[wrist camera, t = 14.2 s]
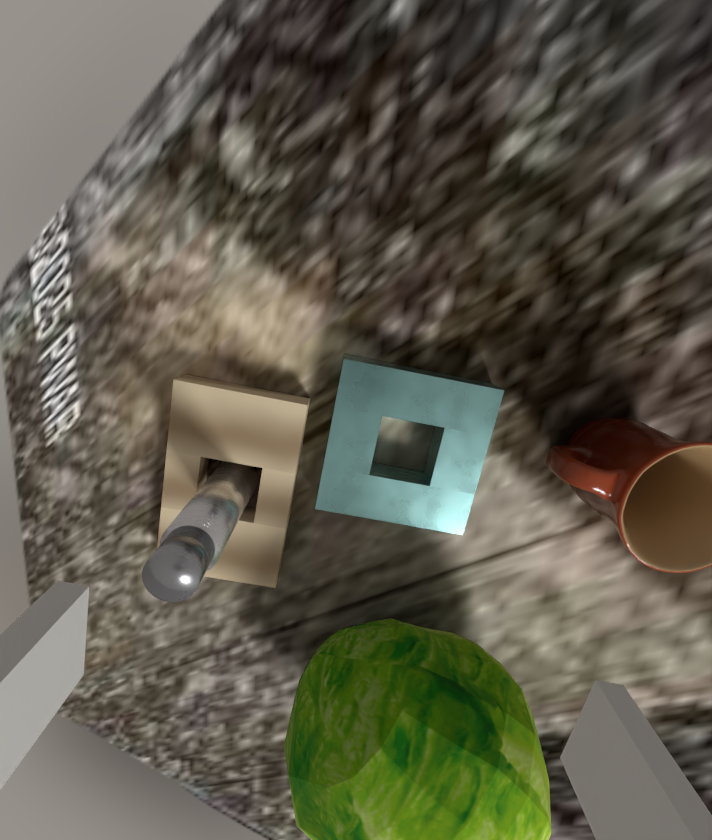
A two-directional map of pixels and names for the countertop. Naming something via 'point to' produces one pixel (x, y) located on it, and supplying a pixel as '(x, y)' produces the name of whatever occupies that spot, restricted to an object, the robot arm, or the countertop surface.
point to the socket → (448, 455)
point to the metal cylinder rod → (199, 533)
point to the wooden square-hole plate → (244, 444)
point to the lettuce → (413, 741)
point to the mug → (644, 489)
